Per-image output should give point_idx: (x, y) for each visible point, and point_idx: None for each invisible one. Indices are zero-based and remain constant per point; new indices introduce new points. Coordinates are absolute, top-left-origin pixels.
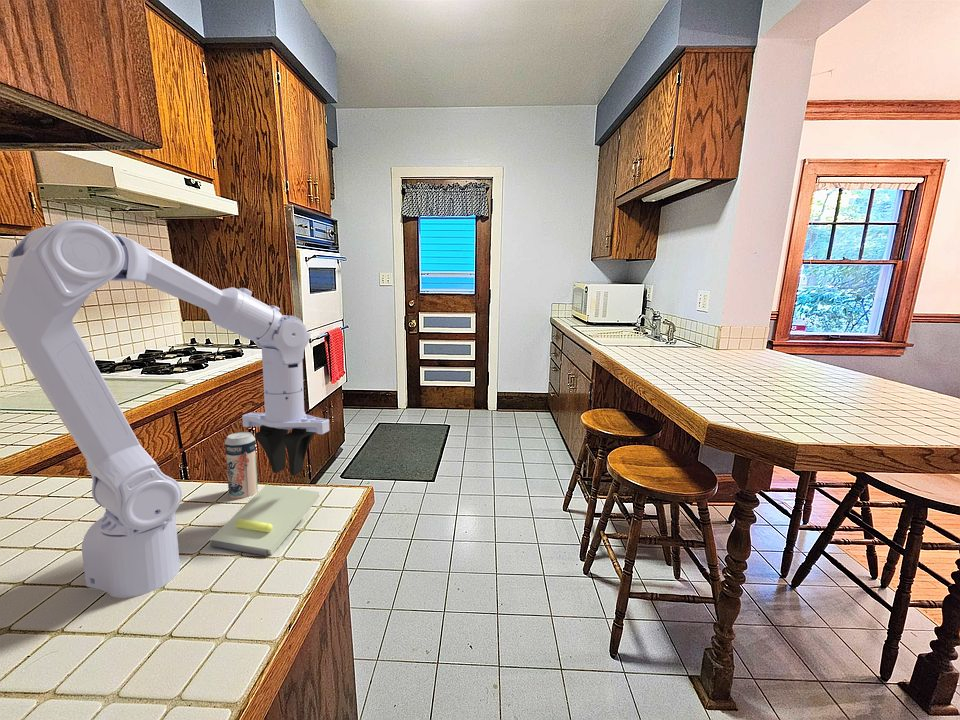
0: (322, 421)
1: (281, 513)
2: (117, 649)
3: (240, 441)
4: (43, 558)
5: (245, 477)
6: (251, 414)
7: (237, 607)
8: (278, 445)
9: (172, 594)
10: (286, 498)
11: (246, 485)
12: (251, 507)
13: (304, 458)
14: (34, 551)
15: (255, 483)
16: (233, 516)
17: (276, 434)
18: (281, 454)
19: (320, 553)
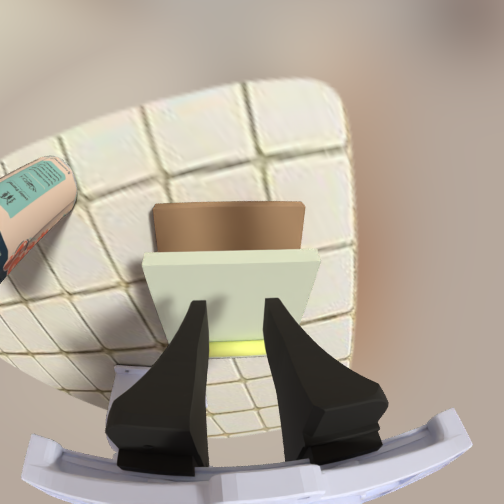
0: (447, 461)
1: (261, 316)
2: (230, 419)
3: None
4: (32, 365)
5: (45, 229)
6: (61, 497)
7: None
8: (201, 395)
9: (210, 388)
10: (242, 289)
11: (56, 217)
12: (179, 317)
13: (296, 322)
14: (13, 357)
15: (57, 188)
16: (165, 333)
17: (202, 446)
18: (202, 352)
19: (344, 302)
